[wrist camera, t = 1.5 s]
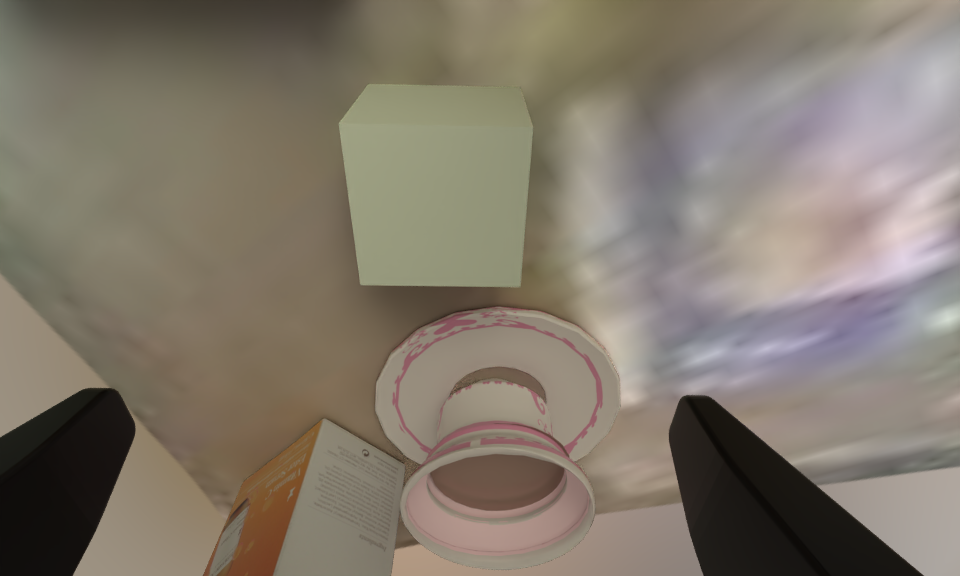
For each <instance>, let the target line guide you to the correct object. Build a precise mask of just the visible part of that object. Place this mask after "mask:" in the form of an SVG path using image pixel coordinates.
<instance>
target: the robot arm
mask: <svg viewBox="0 0 960 576" xmlns="http://www.w3.org/2000/svg"><path fill="white" fill-rule="evenodd" d="M134 436H135V423H134V420H133V418H132V416H131V414H130V412H129V410H128V409H127V407H126V405H125V403H124V401H123V399H122V397H121V395H120V394H119V392H118V391H116V390H115V389H112V388H87V389H83V390H81V391H79V392H78V393H76V394H74V395H72V396H70V397H69V398H67V399H65V400H64V401H62V402H60V403H59V404H57V405H55V406H53V407H52V408H50V409H48V410H47V411H45V412H43V413H41V414H40V415H38V416H36V417H34V418H33V419H31V420H29V421H27V422H26V423H24V424H22V425H21V426H19V427H17V428H16V429H14V430H12V431H10V432H9V433H7V434H5V435H3V436H2V437H0V576H73V574H74V572H75V570H76V568H77V566H78V564H79V563H80V561H81V559H82V557H83V554H84V553H85V551H86V549H87V547H88V545H89V543H90V541H91V539H92V537H93V535H94V533H95V531H96V529H97V527H98V524H99V522H100V520H101V518H102V516H103V513H104V511H105V508H106V506H107V503H108V501H109V498H110V496H111V494H112V491H113V489H114V486H115V484H116V481H117V479H118V476H119V474H120V471H121V468H122V466H123V464H124V461H125V459H126V457H127V454H128V452H129V449H130V447H131V444H132V442H133V439H134ZM669 443H670V448H671V453H672V457H673V462H674V466H675V471H676V475H677V480H678V484H679V489H680V493H681V498H682V502H683V506H684V511H685V515H686V520H687V524H688V528H689V532H690V536H691V539H692V542H693V545H694V549H695V552H696V555H697V557H698V560H699V563H700V566H701V569H702V572H703V575H704V576H924V575H922V574H921V573H920V572H919V571H918V570H916V569H915V568H914V567H913V566H911V565H910V564H909V563H908V562H907V561H906V560H904V559H903V558H902V557H901V556H900V555H899V554H897V553H896V552H895V551H894V550H893V549H891V548H890V547H889V546H888V545H886V544H885V543H884V542H883V541H882V540H881V539H879V538H878V537H877V536H876V535H875V534H873V533H872V532H871V531H870V530H869V529H867V528H866V527H865V526H864V525H863V524H861V523H860V522H859V521H858V520H857V519H855V518H854V517H853V516H852V515H851V514H850V513H848V512H847V511H846V510H845V509H843V508H842V507H841V506H840V505H839V504H838V503H836V502H835V501H834V500H833V499H831V498H830V497H829V496H828V495H827V494H826V493H825V492H823V491H822V490H821V489H820V488H819V487H817V486H816V485H815V484H814V483H813V482H811V481H810V480H809V479H808V478H807V477H805V476H804V475H803V474H802V473H801V472H800V471H798V470H797V469H796V468H795V467H794V466H792V465H791V464H790V463H789V462H788V461H786V460H785V459H784V458H783V457H782V456H780V455H779V454H778V453H777V452H776V451H774V450H773V449H772V448H771V447H770V446H769V445H767V444H766V443H765V442H764V441H763V440H761V439H760V438H759V437H758V436H757V435H755V434H754V433H753V432H752V431H751V430H749V429H748V428H747V427H746V426H745V425H743V424H742V423H741V422H740V421H739V420H738V419H736V418H735V417H734V416H733V415H732V414H730V413H729V412H728V411H727V410H726V409H724V408H723V407H722V406H721V405H720V404H718V403H717V402H716V401H715V400H714V399H712V398H711V397H709V396H705V395H686V396H683V397H682V398H681V399H680V401H679V403H678V406H677V409H676V412H675V414H674V417H673V420H672V423H671V426H670V429H669Z"/></svg>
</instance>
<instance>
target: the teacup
mask: <svg viewBox="0 0 960 576" xmlns="http://www.w3.org/2000/svg"><path fill="white" fill-rule="evenodd" d="M490 367H507V368H515V369H517V370H520V371H523V372H526V373H528V374H529V375H531V376H532V377H533V378H535V379H536V380H537V381H538V382H539V383H540V385H541V386H542V388H543V389H544V391H545V398H546V403H545V402H544V400H543V399H542V398H541V397H540V396H539V395H538V394H536V393H535V392H533V391H532V390H530V389H528V388H526V387H524V386H521V385H518V384H515V383H513V382H510V381H508V380H504V379H495V378H494V379H484V380H481V381H478V382H476V383H474V384H472V385H470V386H467V387H465V388H463V389H461V390H459V391H457V392H456V393H454V394H453V395H452V396H450V394H451V391H452V390H453V388H454V387H455V385H456V383H457V382H458V381H460V380H461V379H462V378H464V377H465V376H466V375H468V374H470V373H472V372H475V371H477V370H480V369H483V368H490ZM620 407H621V402H620V378H619V375H618V373H617V371H616V369H615V367H614V365H613V363H612V361H611V359H610V357H609V355H608V353H607V352H606V350H605V348H604V347H603V346H601V345H600V344H599V343H598V342H597V341H596V340H594V339H593V338H592V337H591V336H590V335H588V334H587V333H586V332H585V331H584V330H583V329H581V328H580V327H579V326H577V325H575V324H572V323H570V322H567V321H565V320H562V319H560V318H557V317H555V316H552V315H550V314H547V313H545V312H542V311H536V310H527V309H518V308H509V307H500V306H497V307H490V308H483V309H476V310H470V311H463V312H456V313H453V314H451V315H448V316H446V317H444V318H441V319H439V320H437V321H435V322H432V323H430V324H428V325H425V326H423V327H421V328H418V329H417V330H416V331H415V332H414V333H412V334H411V335H410V336H409V337H408V338H407V339H406V340H404V341H403V342H402V343H401V344H400V345H399V346H397V347H396V348H395V349H394V350H393V351H392V352H391V353H390V355H389V357H388V359H387V361H386V363H385V365H384V367H383V369H382V371H381V372H380V374H379V376H378V378H377V382H376V399H375V412H376V414H377V417H378V419H379V421H380V424H381V426H382V428H383V431H384V433H385V436H386V437H387V438H388V439H389V440H390V441H391V442H392V443H393V444H394V445H395V446H396V447H397V448H398V449H399V450H400V451H401V452H402V453H403V454H404V455H405V456H406V457H407V458H409V459H411V460H413V461H414V462H416V463H418V464H420V466H419V467H418V468H417V469H416V470H415V471H414V472H413V473H412V475H411V476H410V478H409V479H408V481H407V483H406V484H405V486H404V488H403V490H402V493H401V497H400V514H401V518H402V521H403V523H404V525H405V527H406V528H407V530H408V531H409V533H410V534H411V535H412V536H413V537H414V538H415V539H416V540H417V541H418V542H419V543H420V544H421V545H423V546H424V547H425V548H427V549H428V550H430V551H431V552H433V553H434V554H436V555H438V556H440V557H442V558H444V559H447V560H449V561H452V562H455V563H458V564H461V565H465V566H469V567H475V568H482V569H491V570H511V569H521V568H527V567H532V566H536V565H540V564H543V563H546V562H549V561H552V560H554V559H556V558H558V557H560V556H562V555H564V554H565V553H567V552H569V551H570V550H572V549H573V548H574V547H575V546H576V545H578V544H579V543H580V542H581V541H582V539H583V538H584V537H585V535H586V534H587V532H588V531H589V529H590V527H591V525H592V523H593V519H594V516H595V498H594V492H593V489H592V486H591V483H590V481H589V479H588V477H587V475H586V474H585V473H584V472H583V470H582V469H581V468H580V467H579V466H578V465H577V464H576V463H575V462H576V461H577V460H579V459H581V458H582V457H584V456H586V455H587V454H589V453H590V452H591V451H592V450H593V449H594V448H595V447H596V446H597V445H598V444H599V443H600V442H601V441H602V440H603V438H604V437H605V436H606V435H607V434H608V433H609V432H610V430H611V428H612V425H613V423H614V421H615V418H616V416H617V414H618V411H619V409H620Z"/></svg>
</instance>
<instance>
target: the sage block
mask: <svg viewBox="0 0 960 576" xmlns="http://www.w3.org/2000/svg"><path fill="white" fill-rule="evenodd" d="M339 129H340V137H341V144H342V152H343V159H344V167H345V174H346V182H347V189H348V196H349V204H350V211H351V219H352V226H353V234H354V241H355V249H356V256H357V264H358V271H359V279H360V285H385V286H463V287H520V285H521V273H522V260H523V248H524V236H525V223H526V211H527V198H528V186H529V174H530V161H531V149H532V137H533V125H532V122H531V119H530V116H529V112H528V109H527V106H526V103H525V100H524V97H523V94H522V91H521V88H520V87H489V86H441V85H393V84H368V85H367V86H366V88H365V89H364V90H363V92H362V93H361V94H360V96H359V97H358V98H357V100H356V101H355V102H354V104H353V105H352V106H351V108H350V109H349V110H348V112H347V113H346V114H345V116H344V117H343V118H342V120H341V121H340V122H339Z"/></svg>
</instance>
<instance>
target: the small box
mask: <svg viewBox="0 0 960 576" xmlns="http://www.w3.org/2000/svg"><path fill="white" fill-rule="evenodd" d="M404 475H405V465H404V464H403V463H401V462H400V461H398V460H396V459H395V458H393V457H391V456H389V455H388V454H386V453H384V452H382V451H381V450H379V449H377V448H376V447H374V446H372V445H370V444H369V443H367V442H365V441H363V440H362V439H360V438H358V437H357V436H355V435H353V434H351V433H350V432H348V431H346V430H345V429H343V428H341V427H339V426H338V425H336V424H334V423H332V422H331V421H329V420H327V419H322V420H320V421H319V422H318V423H317V424H316V425H315V426H314V427H312V428H311V429H310V430H309V431H308V432H307V433H306V434H305V435H303V436H302V437H301V438H300V439H298V440H297V441H296V442H295V443H293V444H292V445H291V446H290V447H288V448H287V449H286V450H284V451H283V452H282V453H280V454H279V455H278V456H276V457H275V458H274V459H273V460H271V461H270V462H269V463H267V464H266V465H265V466H263V467H262V468H261V469H260V470H258V471H257V472H256V473H254V474H253V475H251V476H250V477H249V478H247V479H246V480H245V481H244V482H243V484H242V486H241V488H240V491H239V493H238V495H237V498H236V500H235V503H234V505H233V507H232V510H231V512H230V514H229V517H228V519H227V521H226V523H225V526H224V528H223V530H222V533H221V535H220V537H219V539H218V542H217V544H216V546H215V549H214V551H213V553H212V556H211V558H210V560H209V563H208V565H207V568H206V570H205V572H204V574H203V576H391V573H392V565H393V558H394V550H395V543H396V535H397V528H398V521H399V513H400V497H401V493H402V490H403V482H404Z"/></svg>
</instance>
